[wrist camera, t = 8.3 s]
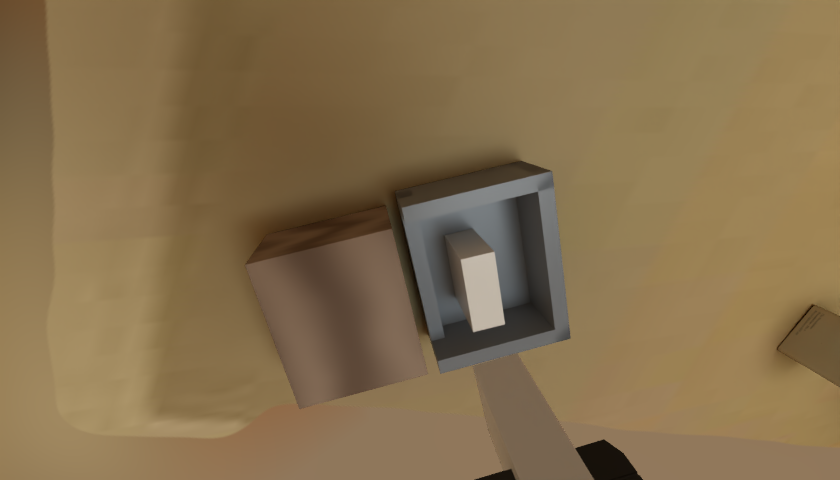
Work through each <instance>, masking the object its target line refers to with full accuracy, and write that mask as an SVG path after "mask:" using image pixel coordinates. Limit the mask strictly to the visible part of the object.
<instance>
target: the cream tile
mask: <svg viewBox="0 0 840 480" xmlns="http://www.w3.org/2000/svg"><path fill="white" fill-rule="evenodd" d="M444 236H445V241H446V246H447V252H448V257H449V263H450V268H451V274H452V279H453V285H454V290H455V295H456V299H457V301H458V303H459V305H460V307H461V309H462V311H463V313H464V315H465V317H466V319H467V321H468V323H469V325H470V327H471V329H472V331H473V332H476V331H480V330H484V329H488V328H492V327H496V326H500V325H504V324H505V321H504V314H503V307H502V300H501V293H500V286H499V279H498V272H497V265H496V259H495V252H494V251H493V250H492V249H491V247H490V246H489V245H488V244H487V243H486V242H485V241H484V240H483V239H482V238H481V237H480V236H479V235H478V234H477V232H476V231H475V230H474V229H469V230H465V231H461V232H456V233H452V234H448V235H444Z"/></svg>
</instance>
